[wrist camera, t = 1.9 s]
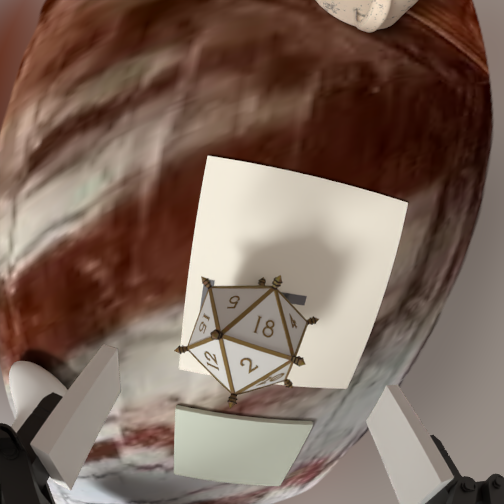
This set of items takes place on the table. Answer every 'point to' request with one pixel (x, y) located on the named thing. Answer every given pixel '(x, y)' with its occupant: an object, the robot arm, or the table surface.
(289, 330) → the game die
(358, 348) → the card
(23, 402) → the flower in vase
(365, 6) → the teacup with lid
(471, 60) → the table surface
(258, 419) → the sage mat
